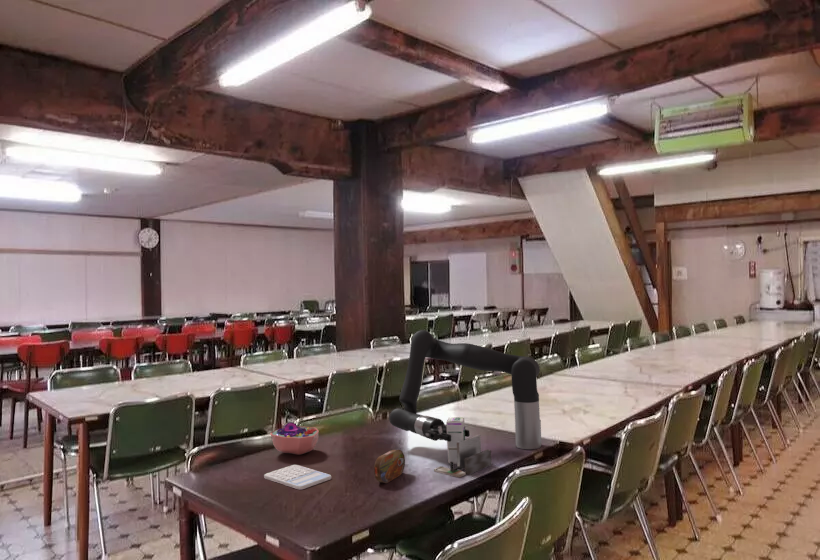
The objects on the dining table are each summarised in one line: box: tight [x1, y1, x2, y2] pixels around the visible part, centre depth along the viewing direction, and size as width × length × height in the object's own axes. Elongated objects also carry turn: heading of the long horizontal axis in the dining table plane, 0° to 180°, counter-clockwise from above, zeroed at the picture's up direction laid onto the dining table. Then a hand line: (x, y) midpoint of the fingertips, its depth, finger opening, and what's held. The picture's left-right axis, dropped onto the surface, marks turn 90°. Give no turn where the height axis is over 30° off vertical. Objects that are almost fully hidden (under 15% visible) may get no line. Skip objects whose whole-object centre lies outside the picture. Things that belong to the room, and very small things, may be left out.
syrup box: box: [445, 416, 466, 465], centre depth 196 cm, size 6×6×14 cm
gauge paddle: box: [449, 434, 482, 472], centre depth 191 cm, size 16×1×9 cm, turn 138°
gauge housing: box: [433, 449, 492, 478], centre depth 193 cm, size 18×12×5 cm, turn 138°
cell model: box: [269, 421, 319, 456], centre depth 217 cm, size 17×20×11 cm
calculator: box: [263, 464, 332, 490], centre depth 188 cm, size 13×20×2 cm, turn 48°
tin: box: [373, 449, 406, 484], centre depth 185 cm, size 15×3×8 cm, turn 149°
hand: (459, 436), depth 195 cm, fingers closed on syrup box, 8 cm apart
